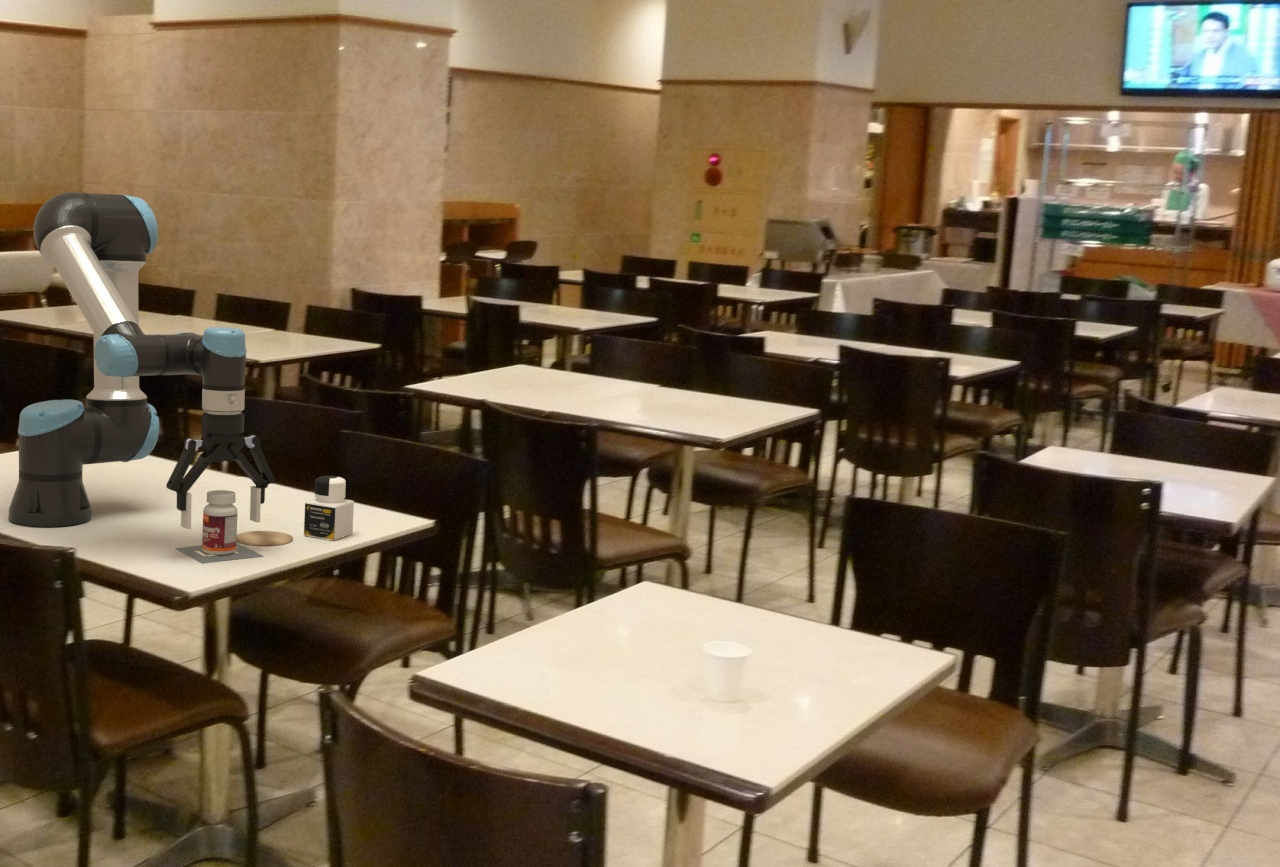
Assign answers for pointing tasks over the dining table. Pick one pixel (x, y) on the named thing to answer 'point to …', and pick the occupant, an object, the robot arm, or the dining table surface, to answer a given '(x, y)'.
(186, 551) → the tile
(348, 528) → the medicine bottle
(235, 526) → the pill bottle
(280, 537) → the coaster
